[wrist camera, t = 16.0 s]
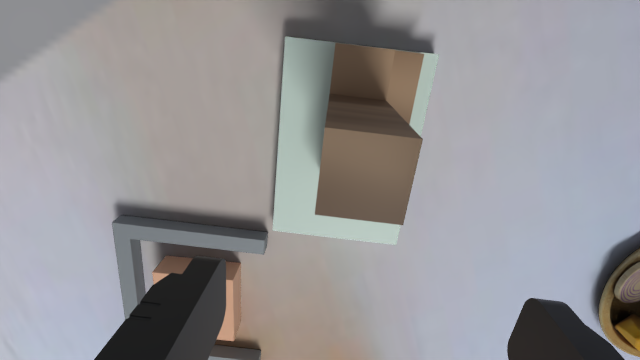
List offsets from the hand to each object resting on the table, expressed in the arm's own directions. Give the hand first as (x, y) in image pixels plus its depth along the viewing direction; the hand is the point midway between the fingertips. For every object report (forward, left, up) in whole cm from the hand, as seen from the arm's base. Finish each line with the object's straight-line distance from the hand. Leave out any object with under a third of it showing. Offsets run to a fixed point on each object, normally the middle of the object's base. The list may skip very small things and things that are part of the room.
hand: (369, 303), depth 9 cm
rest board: (0, 0, -15) cm, 15 cm away
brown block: (-2, 0, -14) cm, 14 cm away
